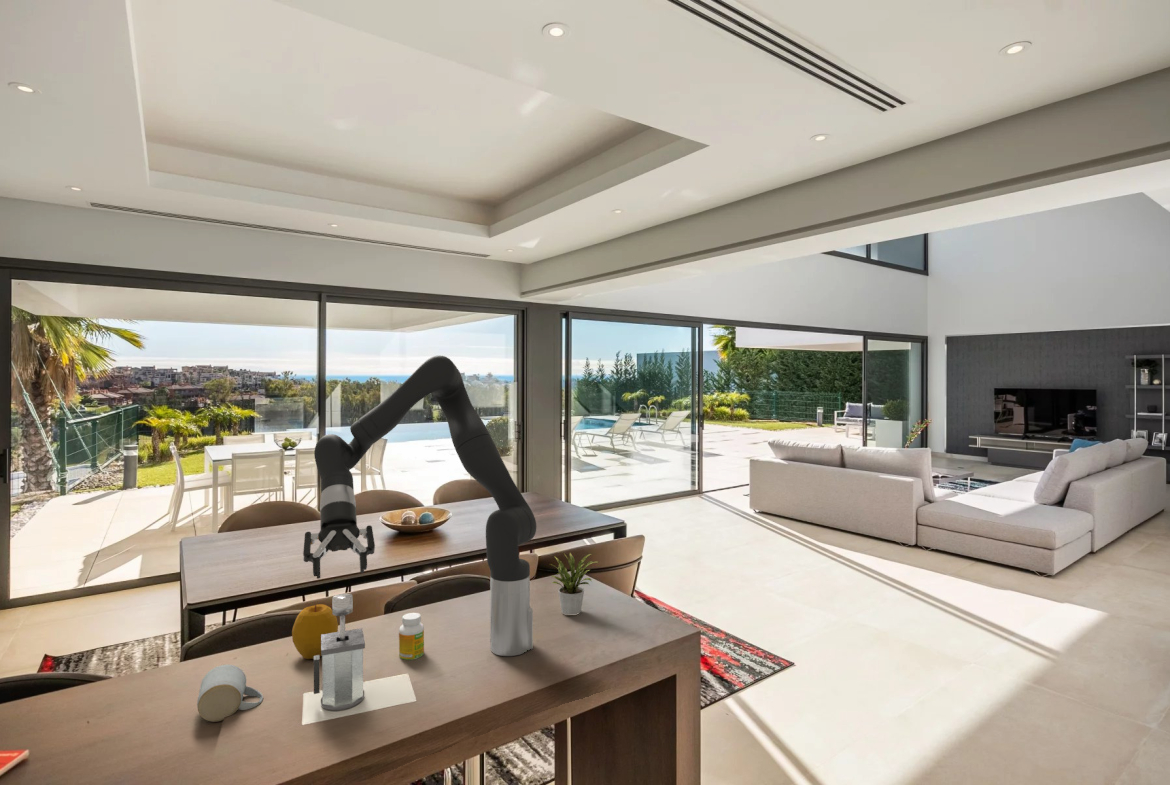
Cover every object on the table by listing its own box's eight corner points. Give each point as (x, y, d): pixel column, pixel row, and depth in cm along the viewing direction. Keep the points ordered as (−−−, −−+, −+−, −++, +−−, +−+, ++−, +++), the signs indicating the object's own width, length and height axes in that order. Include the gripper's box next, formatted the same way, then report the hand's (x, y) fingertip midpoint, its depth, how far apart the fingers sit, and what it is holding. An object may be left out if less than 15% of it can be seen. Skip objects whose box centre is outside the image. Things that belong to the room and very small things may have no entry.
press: (362, 686, 120) (362, 627, 120) (365, 705, 113) (365, 643, 113) (314, 696, 116) (313, 635, 116) (313, 716, 109) (313, 651, 109)
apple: (319, 668, 130) (319, 615, 130) (281, 663, 132) (281, 611, 132) (346, 649, 139) (346, 599, 139) (310, 645, 142) (310, 596, 141)
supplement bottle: (416, 665, 132) (416, 621, 132) (394, 662, 133) (394, 619, 133) (428, 654, 137) (427, 612, 137) (406, 652, 138) (406, 610, 138)
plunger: (356, 661, 118) (356, 590, 118) (358, 673, 114) (358, 599, 113) (327, 666, 116) (327, 594, 116) (327, 679, 111) (327, 603, 111)
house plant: (606, 605, 168) (606, 547, 167) (596, 624, 154) (596, 561, 154) (557, 601, 171) (557, 544, 171) (543, 619, 157) (543, 558, 157)
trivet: (407, 678, 126) (407, 673, 126) (416, 706, 115) (416, 700, 115) (303, 698, 118) (303, 693, 118) (302, 730, 107) (302, 725, 107)
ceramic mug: (195, 729, 107) (196, 687, 107) (200, 707, 114) (201, 667, 114) (262, 715, 112) (263, 674, 112) (263, 695, 119) (263, 656, 119)
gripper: (370, 515, 141) (375, 578, 131) (304, 521, 135) (303, 587, 125) (372, 497, 136) (377, 560, 126) (303, 502, 130) (302, 569, 120)
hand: (340, 573), depth 125 cm, fingers open, 8 cm apart
